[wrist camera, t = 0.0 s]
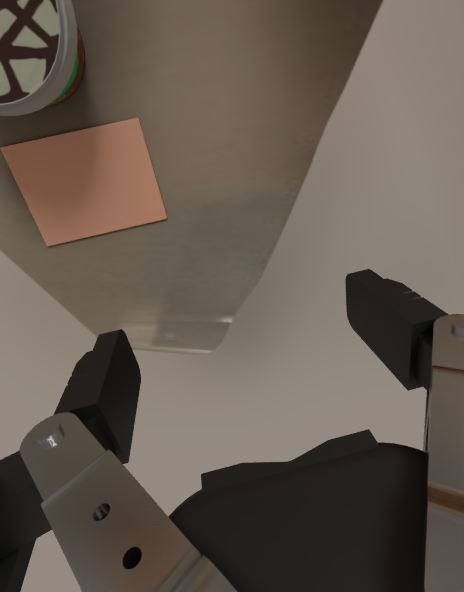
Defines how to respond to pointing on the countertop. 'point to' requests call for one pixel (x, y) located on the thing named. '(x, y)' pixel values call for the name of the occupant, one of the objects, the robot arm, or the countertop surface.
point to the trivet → (87, 181)
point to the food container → (38, 55)
